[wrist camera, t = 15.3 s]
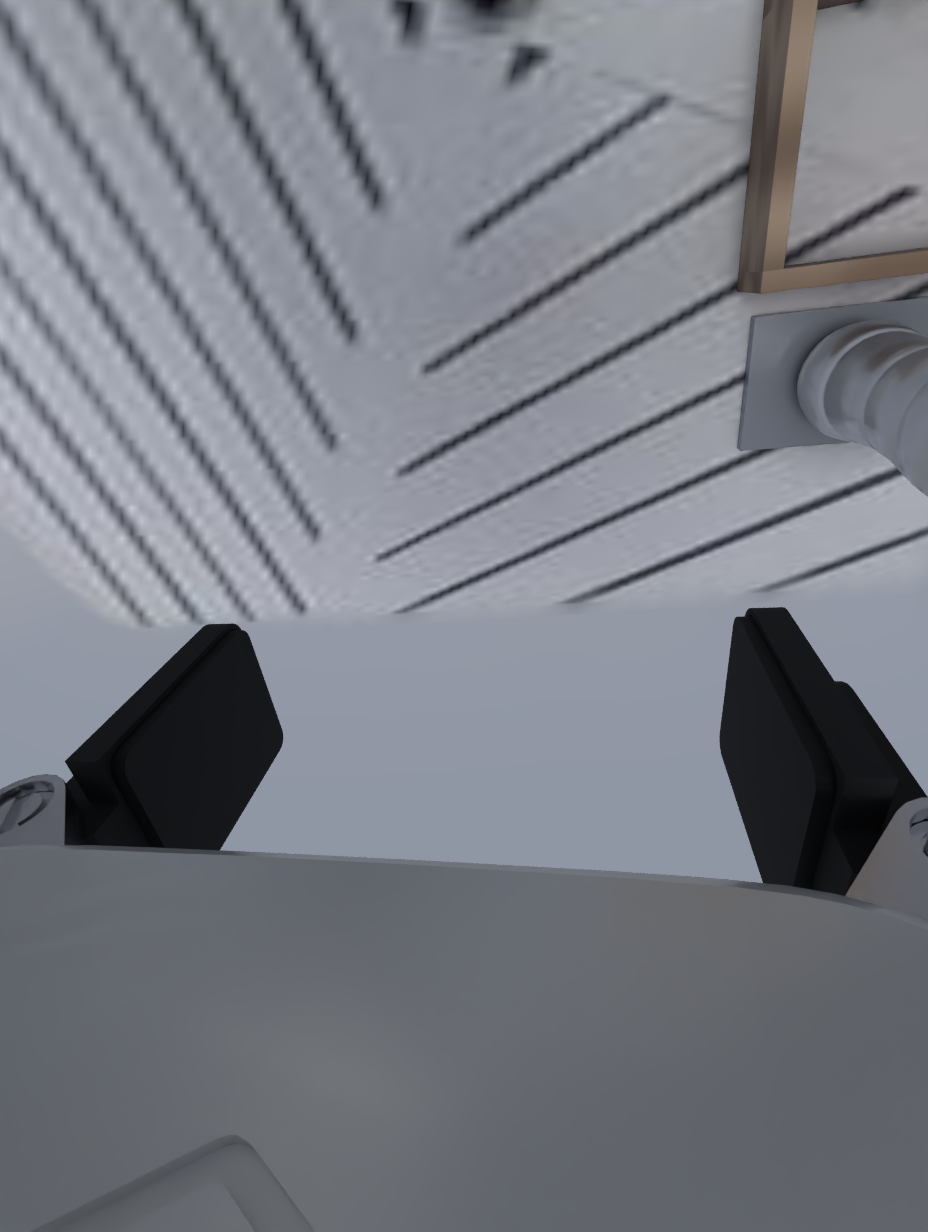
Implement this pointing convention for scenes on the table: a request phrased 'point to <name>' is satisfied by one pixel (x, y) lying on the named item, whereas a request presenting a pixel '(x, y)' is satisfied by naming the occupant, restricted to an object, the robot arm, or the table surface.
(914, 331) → the plastic bottle
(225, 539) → the table surface
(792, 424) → the slate tile
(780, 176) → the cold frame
